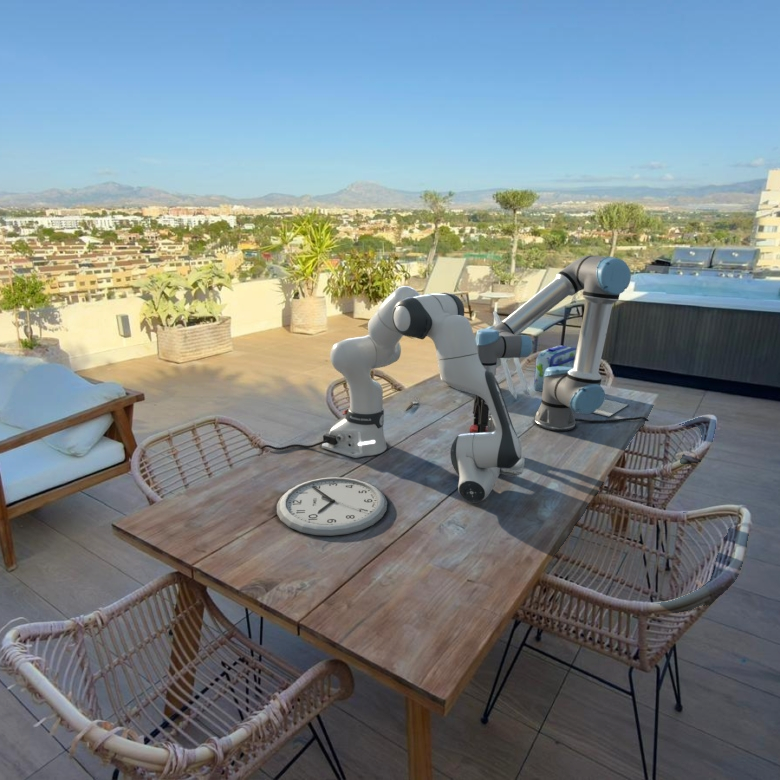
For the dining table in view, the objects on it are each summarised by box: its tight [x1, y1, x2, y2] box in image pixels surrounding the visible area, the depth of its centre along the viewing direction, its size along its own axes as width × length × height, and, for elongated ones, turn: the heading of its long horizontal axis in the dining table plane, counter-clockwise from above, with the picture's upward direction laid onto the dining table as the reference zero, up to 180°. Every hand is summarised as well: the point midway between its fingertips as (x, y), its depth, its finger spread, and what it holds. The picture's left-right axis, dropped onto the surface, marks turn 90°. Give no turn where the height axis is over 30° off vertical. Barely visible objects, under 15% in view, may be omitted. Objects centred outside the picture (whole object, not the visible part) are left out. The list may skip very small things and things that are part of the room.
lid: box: [469, 424, 488, 433], centre depth 181 cm, size 6×6×2 cm
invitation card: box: [592, 399, 629, 418], centre depth 226 cm, size 21×1×15 cm
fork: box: [405, 396, 421, 411], centre depth 222 cm, size 3×16×2 cm, turn 160°
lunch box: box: [533, 345, 577, 393], centre depth 245 cm, size 26×11×21 cm, turn 135°
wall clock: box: [276, 476, 388, 537], centre depth 142 cm, size 30×2×30 cm
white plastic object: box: [439, 310, 531, 400], centre depth 245 cm, size 37×45×31 cm
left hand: (494, 450), depth 163 cm, fingers closed on jar, 5 cm apart
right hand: (478, 439), depth 182 cm, fingers closed on lid, 6 cm apart
